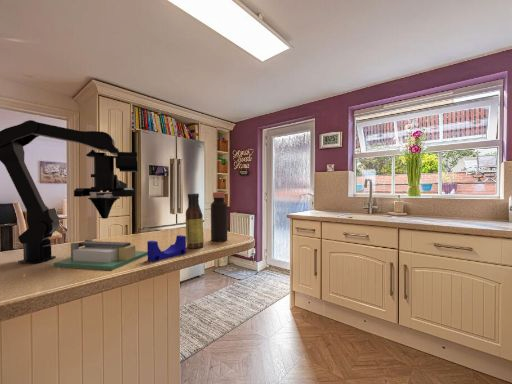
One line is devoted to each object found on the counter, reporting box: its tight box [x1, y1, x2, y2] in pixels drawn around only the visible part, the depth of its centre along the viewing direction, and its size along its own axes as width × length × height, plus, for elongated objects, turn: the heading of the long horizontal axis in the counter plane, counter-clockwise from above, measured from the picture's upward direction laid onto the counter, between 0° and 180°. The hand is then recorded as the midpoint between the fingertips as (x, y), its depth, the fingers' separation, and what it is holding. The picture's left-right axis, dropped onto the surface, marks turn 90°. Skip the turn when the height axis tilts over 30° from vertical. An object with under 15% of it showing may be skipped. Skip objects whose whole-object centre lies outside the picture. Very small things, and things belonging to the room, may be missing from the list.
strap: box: [78, 240, 132, 248], centre depth 78 cm, size 17×3×1 cm, turn 79°
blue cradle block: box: [146, 234, 187, 263], centre depth 82 cm, size 12×4×6 cm, turn 144°
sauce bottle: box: [185, 192, 205, 249], centre depth 94 cm, size 6×6×20 cm
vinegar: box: [210, 191, 228, 242], centre depth 106 cm, size 7×7×20 cm
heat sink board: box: [52, 238, 148, 271], centre depth 77 cm, size 19×16×6 cm
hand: (104, 218), depth 84 cm, fingers closed
